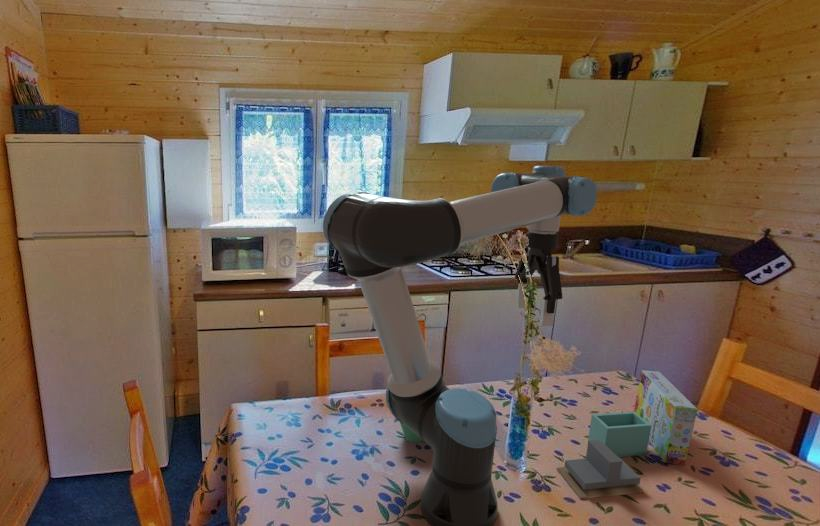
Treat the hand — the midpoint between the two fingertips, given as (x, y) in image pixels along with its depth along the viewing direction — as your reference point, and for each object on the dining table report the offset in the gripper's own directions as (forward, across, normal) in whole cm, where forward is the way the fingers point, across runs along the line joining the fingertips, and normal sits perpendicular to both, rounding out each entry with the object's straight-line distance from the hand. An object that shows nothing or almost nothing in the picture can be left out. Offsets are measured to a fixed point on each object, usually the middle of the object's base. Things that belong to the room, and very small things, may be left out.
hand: (533, 316), depth 117 cm
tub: (+32, -10, -21) cm, 39 cm away
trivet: (+32, -21, -9) cm, 39 cm away
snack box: (+32, -8, -35) cm, 48 cm away
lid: (+30, -21, -10) cm, 38 cm away
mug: (+32, +1, +26) cm, 41 cm away
